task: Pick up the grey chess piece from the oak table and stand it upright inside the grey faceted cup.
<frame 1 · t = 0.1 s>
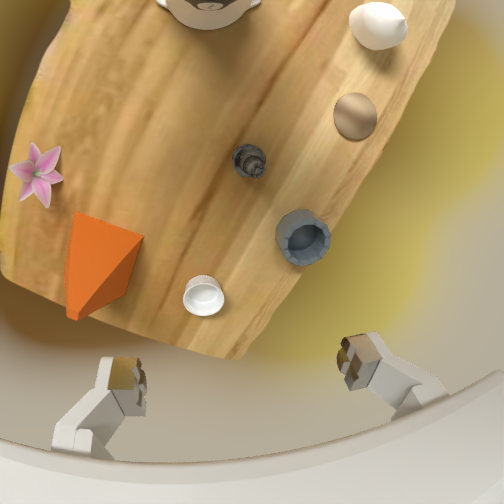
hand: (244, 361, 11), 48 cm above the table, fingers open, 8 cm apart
grey chess piece: (246, 157, 55), on the table
teardrop: (371, 27, 44), on the table
lily: (48, 168, 47), on the table
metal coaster: (355, 115, 54), on the table
pyramid: (100, 254, 58), on the table
ramekin: (202, 288, 67), on the table
grey faceted cup: (299, 232, 64), on the table
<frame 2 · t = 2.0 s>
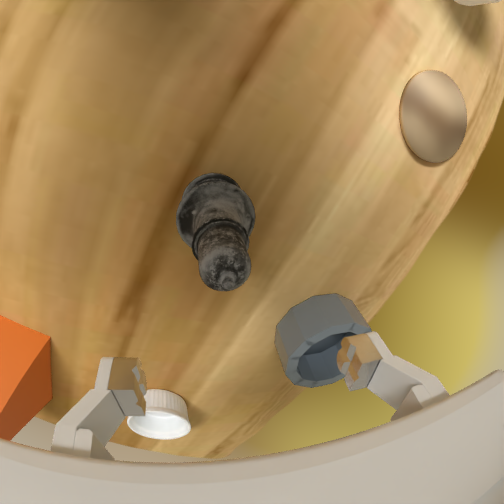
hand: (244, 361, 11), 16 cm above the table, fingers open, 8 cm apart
grey chess piece: (212, 202, 25), on the table
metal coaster: (434, 116, 24), on the table
pyramid: (5, 350, 29), on the table
ramekin: (159, 401, 38), on the table
grey faceted cup: (317, 328, 35), on the table
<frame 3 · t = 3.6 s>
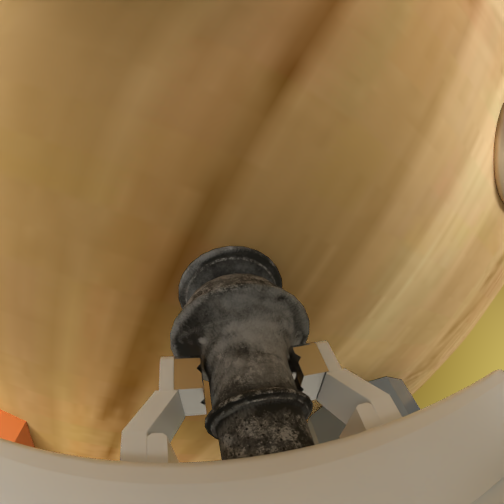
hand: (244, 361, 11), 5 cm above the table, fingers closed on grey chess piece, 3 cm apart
grey chess piece: (230, 290, 15), on the table, touching gripper
grey faceted cup: (356, 411, 25), on the table
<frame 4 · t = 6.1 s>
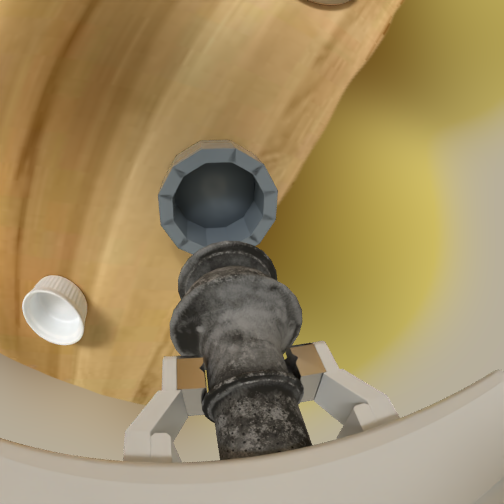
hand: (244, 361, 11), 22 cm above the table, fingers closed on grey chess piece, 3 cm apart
grey chess piece: (227, 283, 16), point 16 cm above the table, touching gripper
ramekin: (61, 297, 33), on the table
grey faceted cup: (214, 190, 30), on the table
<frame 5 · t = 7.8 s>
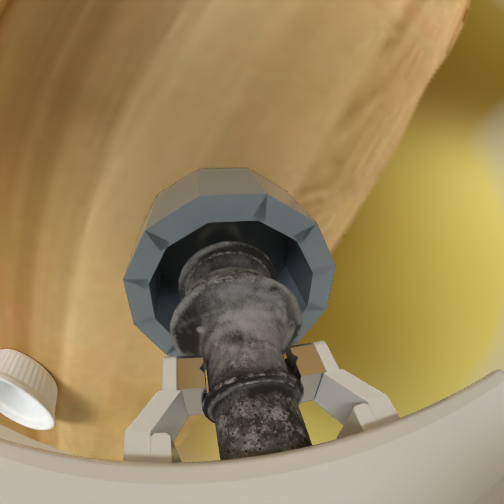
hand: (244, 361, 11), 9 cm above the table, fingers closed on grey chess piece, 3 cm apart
grey chess piece: (227, 283, 16), point 3 cm above the table, touching gripper
ramekin: (26, 372, 22), on the table
grey faceted cup: (222, 249, 19), on the table
when the fingers open (6 cm above the table, at t = 8.7 s): grey chess piece stays where it is, resting on grey faceted cup.
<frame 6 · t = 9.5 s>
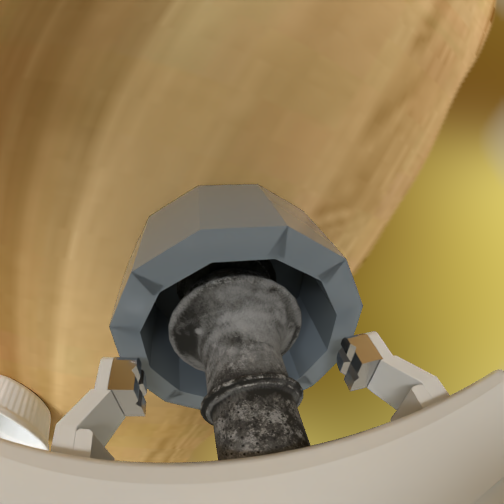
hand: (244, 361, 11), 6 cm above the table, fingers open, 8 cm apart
grey chess piece: (226, 284, 16), resting on grey faceted cup
ramekin: (17, 396, 19), on the table
grey faceted cup: (227, 279, 16), on the table
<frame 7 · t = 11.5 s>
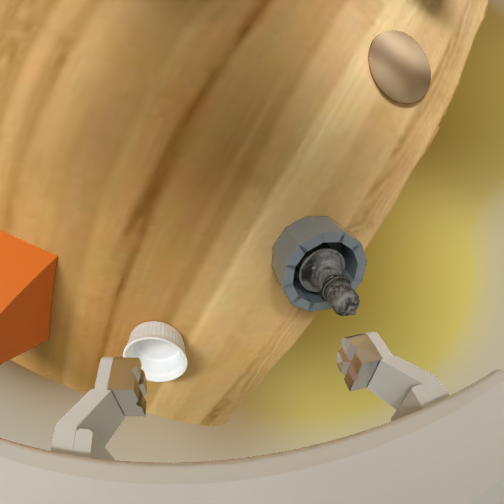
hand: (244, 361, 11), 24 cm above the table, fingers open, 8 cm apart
grey chess piece: (311, 256, 38), resting on grey faceted cup
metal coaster: (400, 66, 28), on the table
pyramid: (9, 281, 32), on the table
ramekin: (156, 339, 40), on the table
grey faceted cup: (311, 254, 38), on the table
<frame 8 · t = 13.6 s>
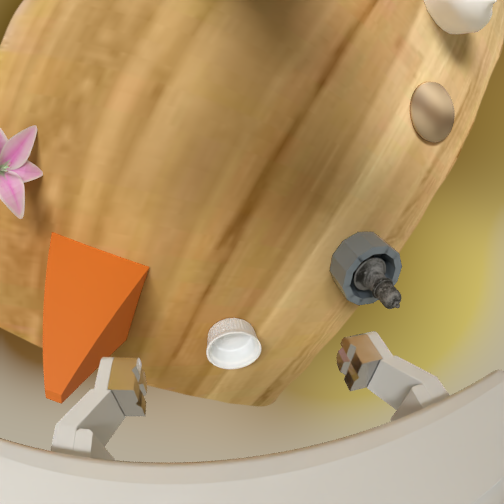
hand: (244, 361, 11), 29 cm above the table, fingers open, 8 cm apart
grey chess piece: (359, 262, 47), resting on grey faceted cup
teardrop: (444, 6, 27), on the table
lily: (21, 160, 30), on the table
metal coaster: (432, 111, 36), on the table
pyramid: (90, 290, 41), on the table
ramekin: (230, 333, 50), on the table
grey faceted cup: (359, 260, 47), on the table
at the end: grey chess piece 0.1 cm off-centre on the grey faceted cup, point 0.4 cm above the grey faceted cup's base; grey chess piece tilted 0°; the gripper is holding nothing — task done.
